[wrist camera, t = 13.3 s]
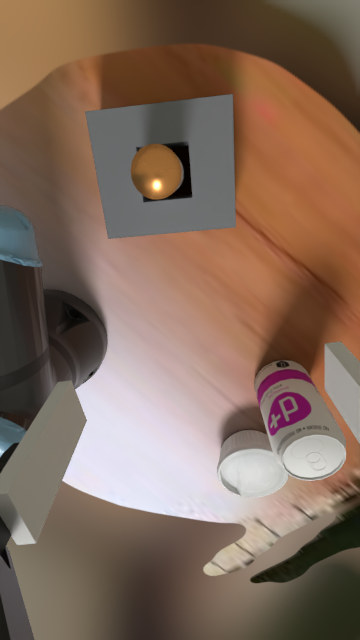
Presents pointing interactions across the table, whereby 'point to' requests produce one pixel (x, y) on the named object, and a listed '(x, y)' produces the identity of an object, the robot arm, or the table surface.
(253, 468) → the ramekin
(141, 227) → the block
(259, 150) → the table surface
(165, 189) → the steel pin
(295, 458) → the supplement can
